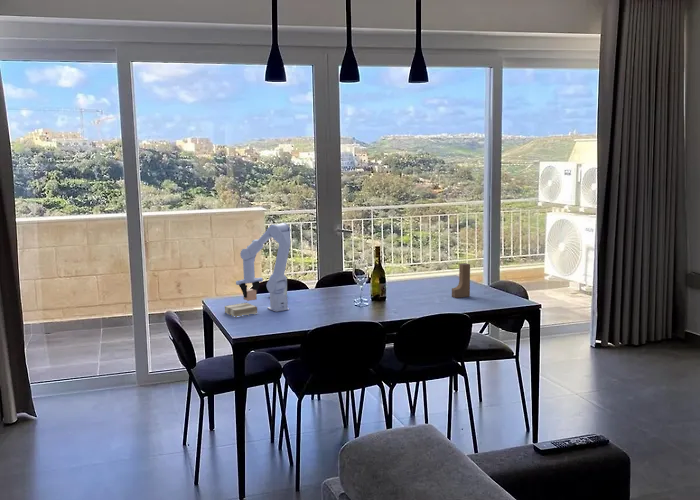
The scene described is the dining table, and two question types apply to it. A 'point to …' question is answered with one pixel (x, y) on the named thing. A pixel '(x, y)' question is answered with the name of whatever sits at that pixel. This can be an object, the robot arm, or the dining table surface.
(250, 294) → the terracotta cube
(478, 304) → the dining table surface
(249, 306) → the birch base block
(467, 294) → the wooden block
